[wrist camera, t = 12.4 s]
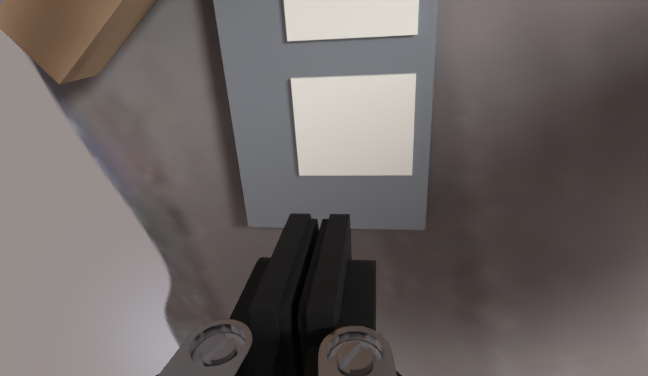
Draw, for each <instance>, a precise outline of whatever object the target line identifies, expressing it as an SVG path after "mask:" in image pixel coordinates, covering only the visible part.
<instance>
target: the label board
mask: <svg viewBox="0 0 648 376" xmlns="http://www.w3.org/2000/svg"><path fill="white" fill-rule="evenodd" d="M213 3H214V10H215V16H216V22H217V29H218V35H219V42H220V48H221V55H222V61H223V67H224V74H225V80H226V87H227V93H228V99H229V106H230V112H231V119H232V125H233V132H234V138H235V144H236V151H237V157H238V164H239V170H240V177H241V183H242V189H243V196H244V202H245V209H246V215H247V222H248V227H271V228H284V227H285V224H286V222H287V220H288V218H289V215H290V214H291V213H301V214H310V215H311V219H317V220H318V227H319V228H320V226H321V222H322V219H329V216H330V214H350V228H351V229H387V230H425V228H426V210H427V193H428V175H429V158H430V140H431V123H432V105H433V87H434V70H435V52H436V35H437V17H438V0H213Z"/></svg>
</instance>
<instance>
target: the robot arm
mask: <svg viewBox="0 0 648 376" xmlns="http://www.w3.org/2000/svg"><path fill="white" fill-rule="evenodd" d="M156 376H402V375H400V374H399V373H398V372H397V371H396V369H395V364H394V359H393V355H392V350H391V348H390V346H389V343H388V341H387V340H386V339H385V338H384V337H383V336H382V335H381V334H379V333H378V332H376V261H371V260H352V258H351V228H350V214H330V216H329V219H322V222H321V226H320V230H319V227H318V220H317V219H311V215H310V214H301V213H291V214H290V215H289V218H288V220H287V222H286V224H285V227H284V229H283V231H282V234H281V236H280V238H279V240H278V243H277V245H276V247H275V250H274V252H273V254H272V257H271V258H265V257H261V258H259V260H258V261H257V263H256V265H255V267H254V269H253V271H252V273H251V275H250V277H249V279H248V281H247V284H246V286H245V288H244V290H243V292H242V294H241V296H240V298H239V300H238V302H237V304H236V306H235V308H234V310H233V312H232V315H231V317H230V319H222V320H216V321H212V322H210V323H207V324H205V325H203V326H201V327H200V328H198V329H197V330H195V331H194V332H193V333H192V334H191V335H190V336H189V337H188V338H187V339H186V340H185V342H184V343H183V344H182V346H181V347H180V348H179V349H178V351H177V352H176V353H175V355H174V356H173V357H172V358H171V360H170V361H169V362H168V364H167V365H166V366H165V367H164V369H163V370H162V371H161V373H160V374H158V375H156Z"/></svg>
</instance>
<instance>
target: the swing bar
mask: <svg viewBox="0 0 648 376" xmlns="http://www.w3.org/2000/svg"><path fill="white" fill-rule="evenodd" d="M156 1H157V0H3V2H2V4H1V5H0V29H1V30H2V31H3V32H5V33H6V34H7V35H8V36H9V37H10V38H11V39H12V40H13V41H14V42H15V43H16V44H17V45H18V46H19V47H20V48H21V49H22V50H23V51H24V52H26V53H27V54H28V55H29V56H30V57H31V58H32V59H33V60H34V61H35V62H36V63H37V64H38V65H39V66H40V67H41V68H42V69H43V70H44V71H45V72H47V73H48V74H49V75H50V76H51V77H52V78H53V79H54V80H55V81H56V82H57V83H58V84H59V85H60V84H64V83H68V82H72V81H76V80H80V79H84V78H88V77H92V76H96V75H98V74H99V73H100V72H101V70H102V69H103V68H104V67H105V65H106V64H107V63H108V62H109V60H110V59H111V58H112V56H113V55H114V54H115V53H116V51H117V50H118V49H119V48H120V46H121V45H122V44H123V43H124V41H125V40H126V39H127V38H128V36H129V35H130V34H131V33H132V31H133V30H134V29H135V28H136V26H137V25H138V24H139V23H140V21H141V20H142V19H143V18H144V16H145V15H146V14H147V13H148V11H149V10H150V9H151V8H152V6H153V5H154V4H155V2H156Z"/></svg>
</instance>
